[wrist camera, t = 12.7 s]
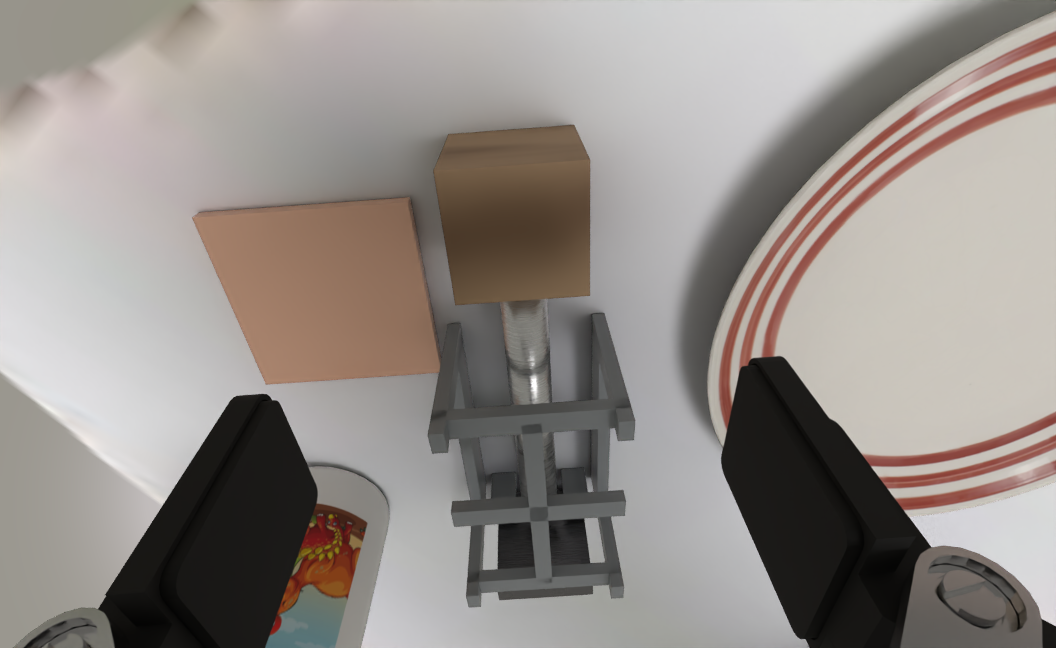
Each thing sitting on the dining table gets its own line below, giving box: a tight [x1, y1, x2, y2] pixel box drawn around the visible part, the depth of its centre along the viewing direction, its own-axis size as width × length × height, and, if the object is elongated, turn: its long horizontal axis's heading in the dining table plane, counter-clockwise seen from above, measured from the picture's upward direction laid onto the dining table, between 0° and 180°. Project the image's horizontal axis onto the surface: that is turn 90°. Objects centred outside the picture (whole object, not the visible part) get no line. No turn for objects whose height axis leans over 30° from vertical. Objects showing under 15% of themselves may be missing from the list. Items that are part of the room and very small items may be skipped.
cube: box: [433, 125, 590, 305], centre depth 20 cm, size 5×5×5 cm
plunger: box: [498, 299, 593, 600], centre depth 25 cm, size 18×5×6 cm, turn 4°
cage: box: [428, 313, 635, 607], centre depth 26 cm, size 12×8×8 cm, turn 4°
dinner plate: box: [707, 11, 1056, 517], centre depth 25 cm, size 28×27×3 cm
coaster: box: [192, 197, 442, 384], centre depth 24 cm, size 9×9×1 cm
